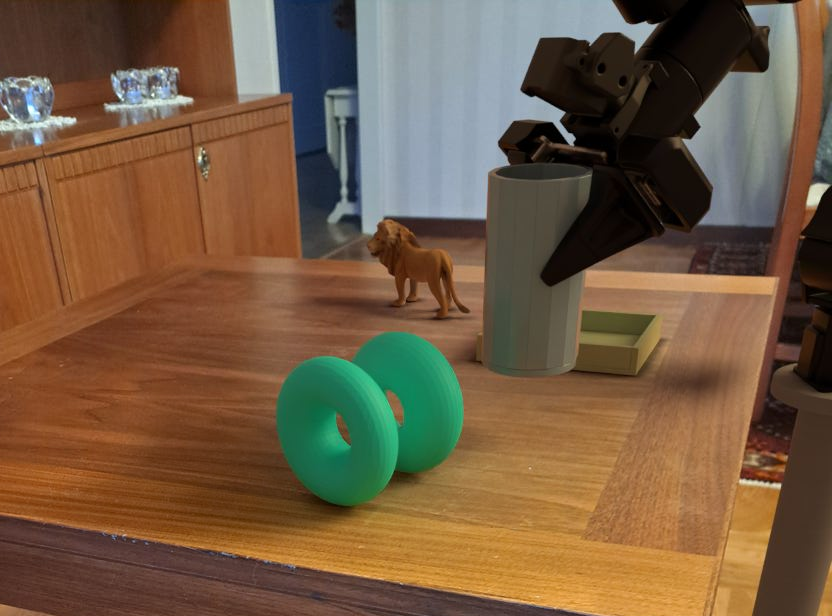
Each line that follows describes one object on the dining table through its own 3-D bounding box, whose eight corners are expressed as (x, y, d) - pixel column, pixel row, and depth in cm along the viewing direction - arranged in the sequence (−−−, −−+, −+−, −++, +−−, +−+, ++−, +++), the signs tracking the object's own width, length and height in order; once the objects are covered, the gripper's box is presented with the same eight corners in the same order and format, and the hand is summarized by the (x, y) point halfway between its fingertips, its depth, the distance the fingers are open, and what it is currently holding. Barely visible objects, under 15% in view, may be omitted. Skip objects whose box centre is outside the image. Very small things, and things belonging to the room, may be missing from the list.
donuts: (470, 480, 68) (474, 339, 62) (378, 529, 61) (374, 378, 56) (366, 448, 73) (361, 317, 68) (273, 490, 67) (260, 350, 62)
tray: (659, 339, 95) (663, 314, 93) (635, 375, 85) (639, 348, 84) (513, 328, 100) (514, 303, 99) (476, 360, 91) (476, 334, 90)
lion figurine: (361, 302, 112) (359, 221, 107) (393, 294, 115) (392, 214, 110) (454, 323, 103) (456, 234, 98) (486, 312, 106) (489, 227, 101)
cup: (567, 345, 73) (584, 160, 66) (584, 376, 68) (604, 178, 60) (477, 348, 74) (484, 165, 66) (486, 379, 68) (494, 183, 61)
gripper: (528, -12, 66) (388, 177, 69) (703, -29, 52) (517, 211, 54) (611, 108, 73) (480, 275, 76) (788, 123, 58) (617, 330, 61)
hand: (516, 272), depth 67 cm, fingers closed on cup, 7 cm apart
